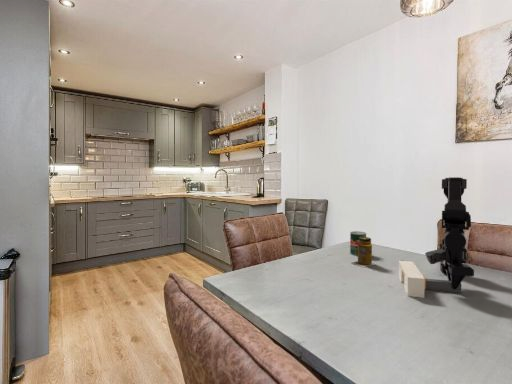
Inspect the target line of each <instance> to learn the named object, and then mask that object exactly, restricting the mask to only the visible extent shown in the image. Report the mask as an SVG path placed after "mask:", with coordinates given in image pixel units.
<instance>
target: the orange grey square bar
mask: <svg viewBox="0 0 512 384" xmlns="http://www.w3.org/2000/svg"><path fill="white" fill-rule="evenodd" d="M422 276H423V277H424V279H425V289H424V291H425V290H432V291H433V290H434V291H444V292H452V293H462V282H461V283H460V284H459V286H458V287H457V289H453V288H452V284H451V281H448V279H447V280H445V279H436V278H435V279H434V278H426V276H425V275H424V274H422Z"/></svg>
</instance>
